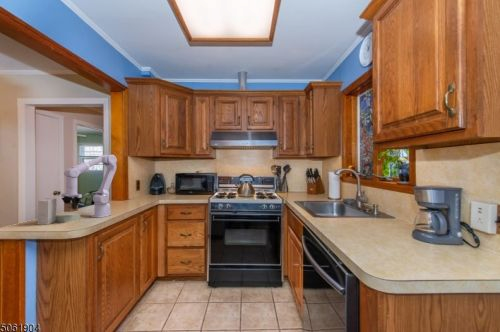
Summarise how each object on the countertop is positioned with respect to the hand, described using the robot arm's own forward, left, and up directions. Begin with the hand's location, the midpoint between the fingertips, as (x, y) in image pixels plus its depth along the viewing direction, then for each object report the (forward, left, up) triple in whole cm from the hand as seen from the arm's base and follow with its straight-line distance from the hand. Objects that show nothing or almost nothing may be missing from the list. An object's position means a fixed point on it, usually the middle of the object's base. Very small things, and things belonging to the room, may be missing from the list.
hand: (71, 208), depth 154 cm
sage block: (-2, -6, -9) cm, 11 cm away
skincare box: (+8, -9, -9) cm, 15 cm away
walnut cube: (0, 0, -2) cm, 2 cm away
